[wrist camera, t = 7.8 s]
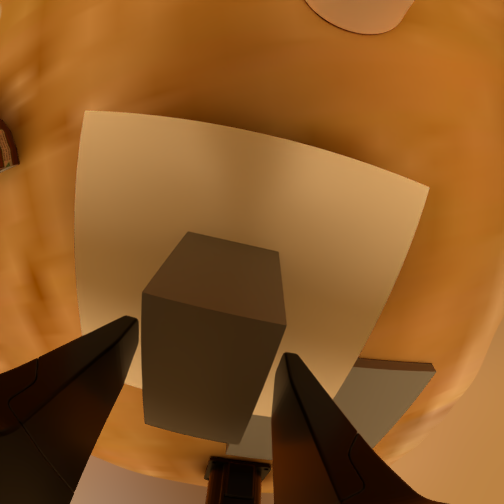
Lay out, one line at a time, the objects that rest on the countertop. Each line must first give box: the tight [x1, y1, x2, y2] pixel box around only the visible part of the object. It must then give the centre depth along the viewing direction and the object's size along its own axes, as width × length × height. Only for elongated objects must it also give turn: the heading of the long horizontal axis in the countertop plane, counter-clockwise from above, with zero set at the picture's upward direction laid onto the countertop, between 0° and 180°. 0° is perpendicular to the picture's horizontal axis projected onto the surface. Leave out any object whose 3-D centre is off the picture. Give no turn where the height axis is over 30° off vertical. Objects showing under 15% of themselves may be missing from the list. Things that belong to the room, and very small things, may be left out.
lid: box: [74, 110, 430, 445], centre depth 9 cm, size 12×12×5 cm
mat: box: [226, 358, 436, 460], centre depth 20 cm, size 14×14×1 cm
